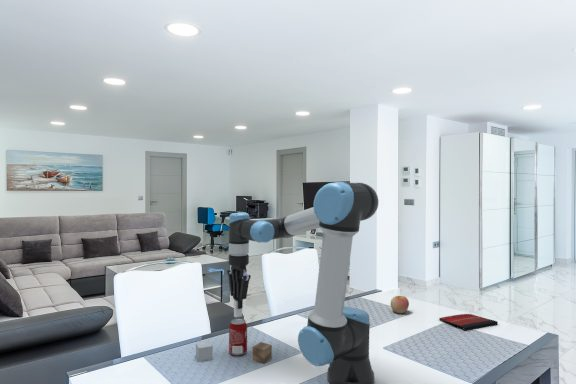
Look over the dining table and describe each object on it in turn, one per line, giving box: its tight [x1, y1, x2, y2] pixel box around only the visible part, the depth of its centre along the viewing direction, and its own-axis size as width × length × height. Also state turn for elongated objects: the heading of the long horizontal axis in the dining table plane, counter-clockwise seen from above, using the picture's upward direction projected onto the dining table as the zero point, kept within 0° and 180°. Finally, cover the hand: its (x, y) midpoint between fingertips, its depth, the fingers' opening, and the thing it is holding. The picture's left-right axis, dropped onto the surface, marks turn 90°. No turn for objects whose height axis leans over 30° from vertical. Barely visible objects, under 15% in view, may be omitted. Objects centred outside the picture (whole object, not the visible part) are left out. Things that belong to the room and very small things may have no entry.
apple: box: [390, 295, 410, 314], centre depth 195 cm, size 9×9×8 cm
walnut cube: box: [252, 341, 273, 364], centre depth 141 cm, size 5×5×5 cm
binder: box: [438, 313, 499, 332], centre depth 182 cm, size 16×2×21 cm
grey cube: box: [195, 340, 214, 363], centre depth 142 cm, size 5×5×5 cm
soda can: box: [228, 318, 248, 356], centre depth 146 cm, size 7×7×12 cm
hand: (238, 316), depth 146 cm, fingers closed
